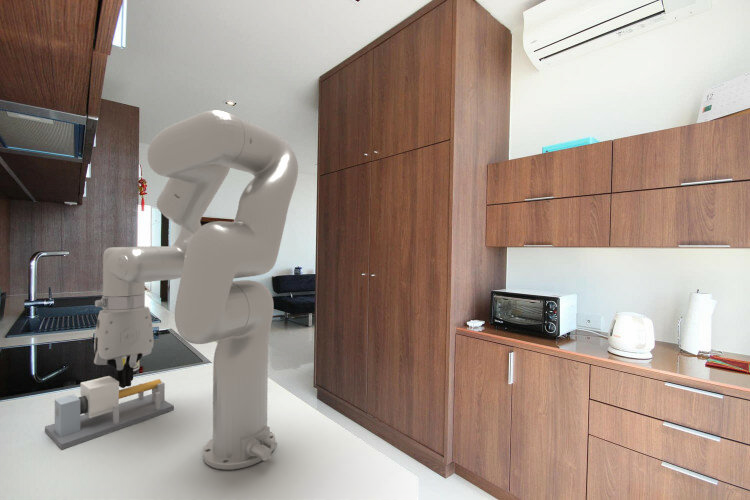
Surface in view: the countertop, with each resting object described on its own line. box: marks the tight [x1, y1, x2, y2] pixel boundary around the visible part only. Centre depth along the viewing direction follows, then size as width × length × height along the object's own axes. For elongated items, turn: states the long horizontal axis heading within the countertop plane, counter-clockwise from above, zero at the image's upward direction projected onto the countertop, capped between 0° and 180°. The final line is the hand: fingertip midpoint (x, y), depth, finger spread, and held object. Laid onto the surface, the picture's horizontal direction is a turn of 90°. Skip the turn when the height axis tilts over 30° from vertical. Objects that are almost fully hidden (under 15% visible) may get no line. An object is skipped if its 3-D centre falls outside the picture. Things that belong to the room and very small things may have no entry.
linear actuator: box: [44, 378, 175, 451], centre depth 77 cm, size 20×11×7 cm, turn 145°
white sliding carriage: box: [80, 375, 120, 418], centre depth 75 cm, size 5×6×6 cm
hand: (124, 385), depth 79 cm, fingers closed
